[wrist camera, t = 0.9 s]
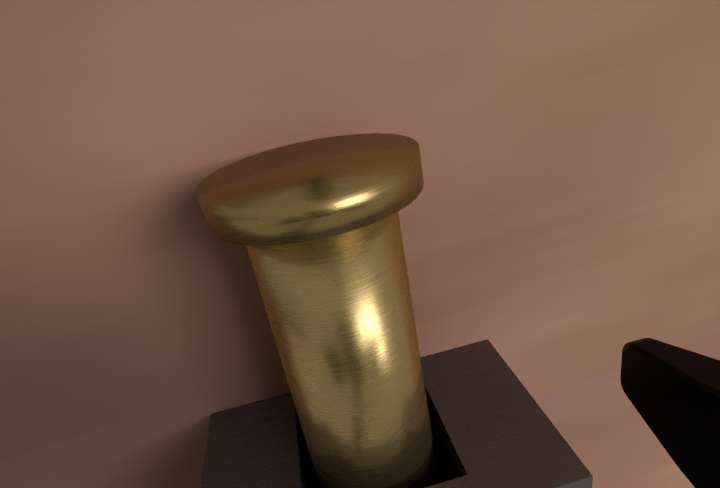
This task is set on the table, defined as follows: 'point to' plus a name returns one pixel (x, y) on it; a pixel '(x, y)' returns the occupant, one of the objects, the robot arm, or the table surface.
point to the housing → (448, 425)
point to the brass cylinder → (337, 297)
